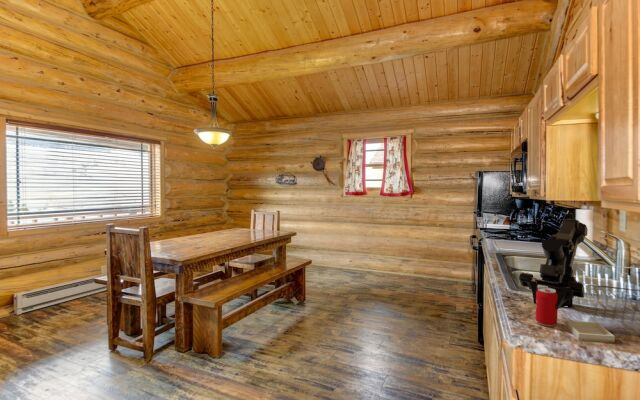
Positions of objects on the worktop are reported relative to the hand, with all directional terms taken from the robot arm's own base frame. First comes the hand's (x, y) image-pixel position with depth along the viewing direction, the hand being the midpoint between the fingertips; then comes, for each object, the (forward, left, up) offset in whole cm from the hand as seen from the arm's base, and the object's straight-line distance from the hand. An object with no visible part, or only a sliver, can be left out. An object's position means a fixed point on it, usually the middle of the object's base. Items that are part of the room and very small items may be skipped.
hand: (545, 306), depth 118 cm
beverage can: (-1, -1, -7) cm, 7 cm away
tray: (-11, +5, -7) cm, 14 cm away
